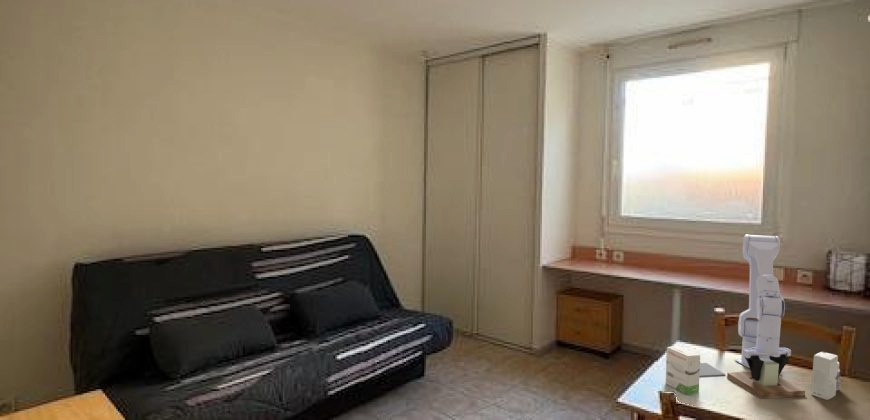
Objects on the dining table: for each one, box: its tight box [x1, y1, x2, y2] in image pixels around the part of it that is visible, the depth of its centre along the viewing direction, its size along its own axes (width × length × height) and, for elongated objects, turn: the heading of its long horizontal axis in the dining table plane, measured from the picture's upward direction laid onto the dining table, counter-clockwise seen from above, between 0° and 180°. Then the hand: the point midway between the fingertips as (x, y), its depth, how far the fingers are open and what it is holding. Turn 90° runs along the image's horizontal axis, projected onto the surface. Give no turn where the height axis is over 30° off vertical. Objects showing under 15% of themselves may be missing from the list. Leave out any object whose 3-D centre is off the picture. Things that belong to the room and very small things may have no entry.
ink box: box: [665, 345, 701, 396], centre depth 149 cm, size 9×5×12 cm, turn 20°
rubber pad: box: [699, 362, 726, 378], centre depth 162 cm, size 9×9×1 cm
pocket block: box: [726, 370, 806, 399], centre depth 151 cm, size 14×14×2 cm
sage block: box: [752, 358, 779, 386], centre depth 150 cm, size 4×4×8 cm
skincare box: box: [810, 351, 839, 401], centre depth 145 cm, size 6×4×12 cm
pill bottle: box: [836, 361, 841, 391], centre depth 150 cm, size 5×5×8 cm
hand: (764, 378), depth 150 cm, fingers open, 6 cm apart
